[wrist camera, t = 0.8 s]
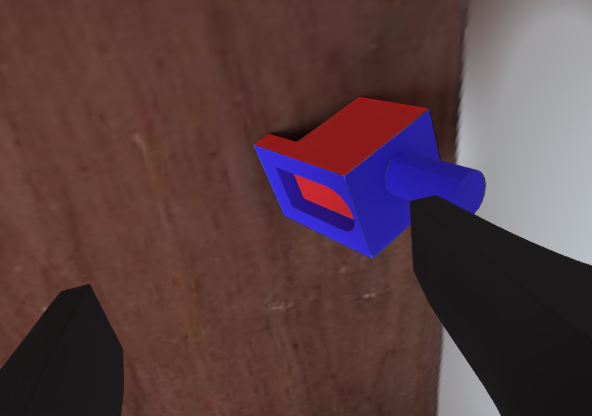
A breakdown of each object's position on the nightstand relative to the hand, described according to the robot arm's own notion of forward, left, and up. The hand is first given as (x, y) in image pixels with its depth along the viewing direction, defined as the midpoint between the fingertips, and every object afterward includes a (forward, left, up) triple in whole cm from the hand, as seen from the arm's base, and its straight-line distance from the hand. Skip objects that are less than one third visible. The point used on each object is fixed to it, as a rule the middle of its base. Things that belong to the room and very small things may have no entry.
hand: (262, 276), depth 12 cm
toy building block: (-2, -4, -10) cm, 11 cm away
